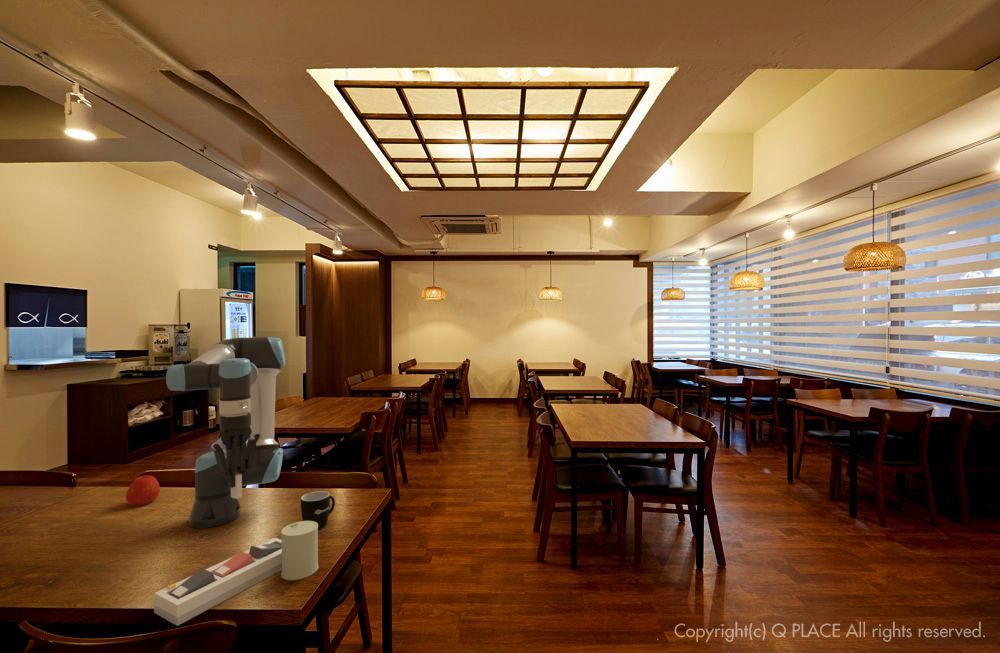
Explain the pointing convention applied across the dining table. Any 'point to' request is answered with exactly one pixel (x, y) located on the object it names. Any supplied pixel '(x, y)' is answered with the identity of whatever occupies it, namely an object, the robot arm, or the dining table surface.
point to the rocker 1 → (193, 583)
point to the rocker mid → (233, 564)
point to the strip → (216, 588)
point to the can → (299, 550)
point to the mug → (317, 507)
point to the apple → (142, 490)
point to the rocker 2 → (264, 549)
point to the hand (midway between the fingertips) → (236, 497)
